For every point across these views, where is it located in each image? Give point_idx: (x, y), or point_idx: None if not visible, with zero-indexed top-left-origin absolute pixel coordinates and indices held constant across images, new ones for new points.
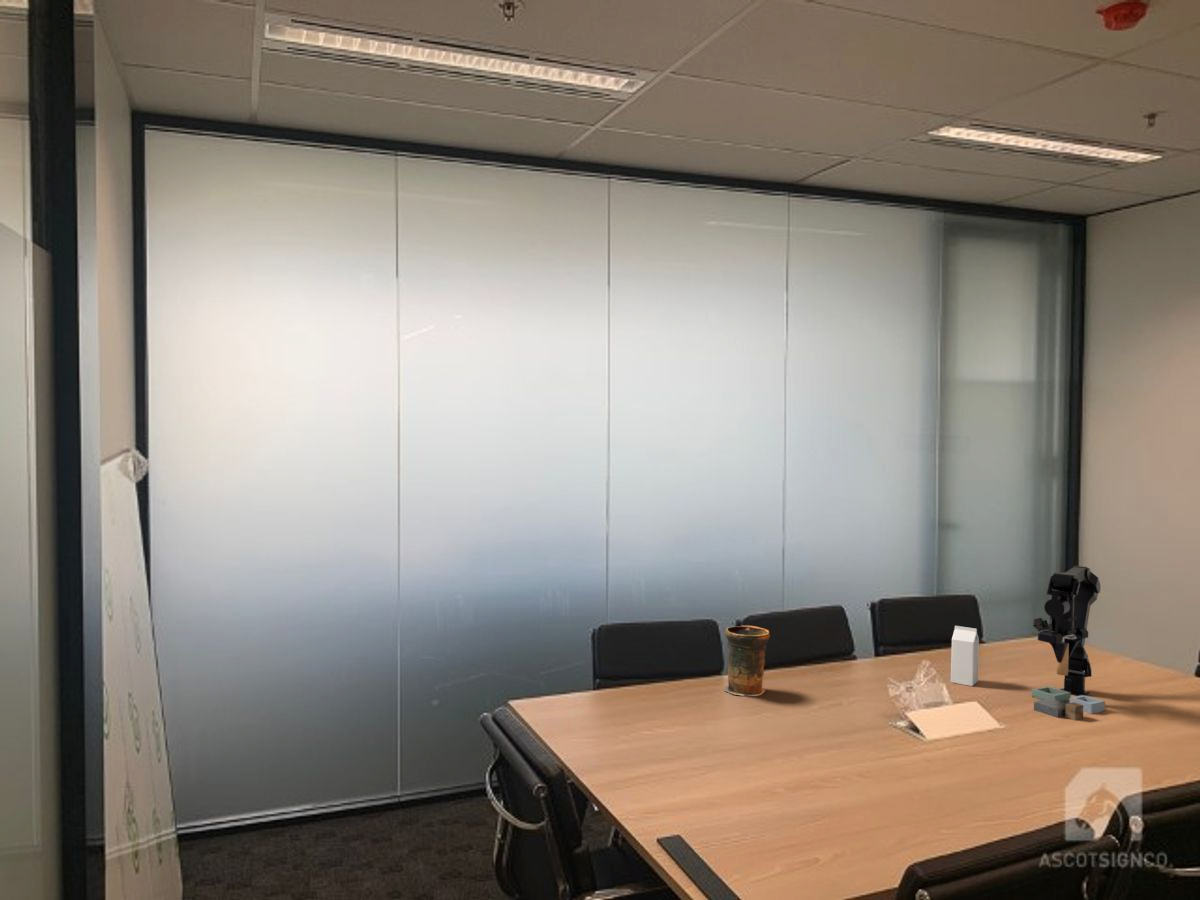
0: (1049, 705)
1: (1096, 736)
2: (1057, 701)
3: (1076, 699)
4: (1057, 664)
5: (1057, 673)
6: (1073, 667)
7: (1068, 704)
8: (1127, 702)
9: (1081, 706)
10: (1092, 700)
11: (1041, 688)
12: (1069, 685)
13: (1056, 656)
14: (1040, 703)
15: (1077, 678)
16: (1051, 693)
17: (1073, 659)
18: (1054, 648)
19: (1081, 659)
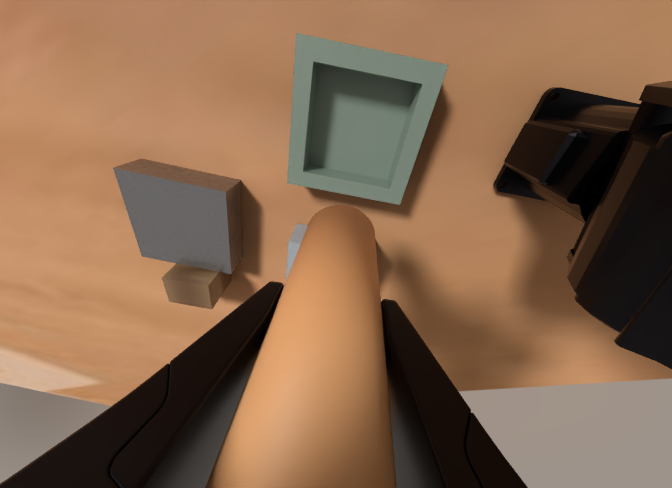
0: (143, 225)
1: (146, 327)
2: (216, 223)
3: (291, 262)
4: (298, 256)
5: (310, 220)
6: (588, 234)
7: (166, 284)
8: (511, 306)
9: (203, 305)
10: None
11: (360, 69)
12: (526, 160)
13: (228, 322)
14: (125, 194)
15: (568, 206)
16: (410, 106)
17: (655, 275)
18: (104, 439)
19: (617, 339)
